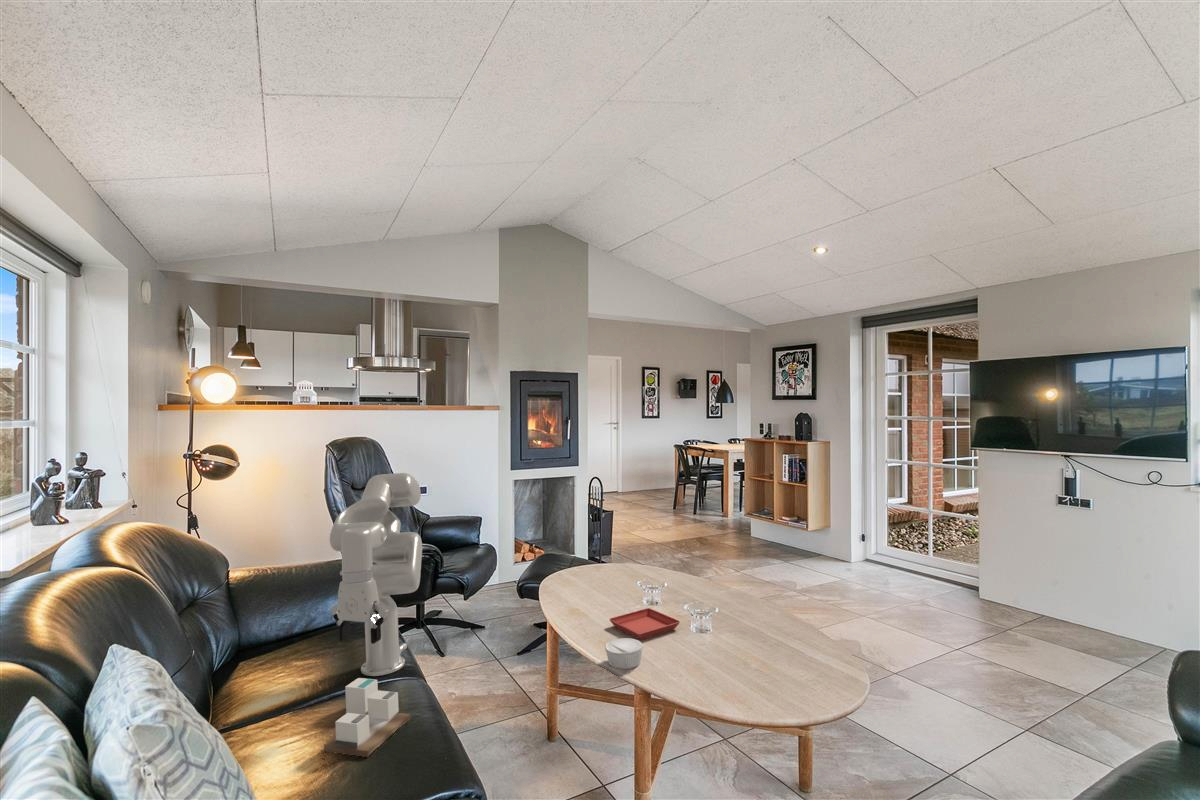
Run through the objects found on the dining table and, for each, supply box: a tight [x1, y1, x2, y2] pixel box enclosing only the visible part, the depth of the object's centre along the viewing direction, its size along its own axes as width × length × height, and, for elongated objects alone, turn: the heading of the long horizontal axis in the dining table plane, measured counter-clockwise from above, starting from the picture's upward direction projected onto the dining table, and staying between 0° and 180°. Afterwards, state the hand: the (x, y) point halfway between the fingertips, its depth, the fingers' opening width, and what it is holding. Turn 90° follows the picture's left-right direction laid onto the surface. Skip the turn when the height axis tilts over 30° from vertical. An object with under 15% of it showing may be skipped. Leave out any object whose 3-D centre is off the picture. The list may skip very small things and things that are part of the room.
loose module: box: [344, 677, 379, 714], centre depth 150 cm, size 5×6×7 cm
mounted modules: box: [334, 689, 400, 746], centre depth 138 cm, size 15×6×5 cm, turn 164°
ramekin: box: [604, 637, 644, 670], centre depth 171 cm, size 11×11×5 cm
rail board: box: [323, 711, 411, 756], centre depth 138 cm, size 16×12×3 cm
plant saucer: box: [609, 607, 681, 641], centre depth 197 cm, size 18×18×3 cm
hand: (360, 640), depth 150 cm, fingers open, 9 cm apart
